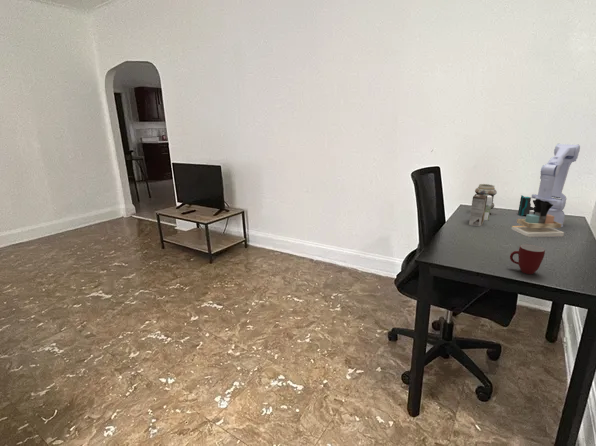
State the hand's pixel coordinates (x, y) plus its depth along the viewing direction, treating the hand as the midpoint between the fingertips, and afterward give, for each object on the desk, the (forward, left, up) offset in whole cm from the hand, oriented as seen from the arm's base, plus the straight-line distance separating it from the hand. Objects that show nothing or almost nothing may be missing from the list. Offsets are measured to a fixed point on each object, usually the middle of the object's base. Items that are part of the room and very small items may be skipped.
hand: (540, 215), depth 174 cm
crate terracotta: (-4, 0, -4) cm, 6 cm away
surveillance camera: (-18, -31, -10) cm, 37 cm away
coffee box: (+22, -18, -10) cm, 30 cm away
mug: (+39, +44, -10) cm, 60 cm away
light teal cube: (+4, 0, -4) cm, 6 cm away
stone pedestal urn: (+6, -39, -10) cm, 41 cm away
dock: (0, 0, -10) cm, 10 cm away
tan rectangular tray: (0, 0, -5) cm, 5 cm away
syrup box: (+14, -26, -10) cm, 31 cm away
